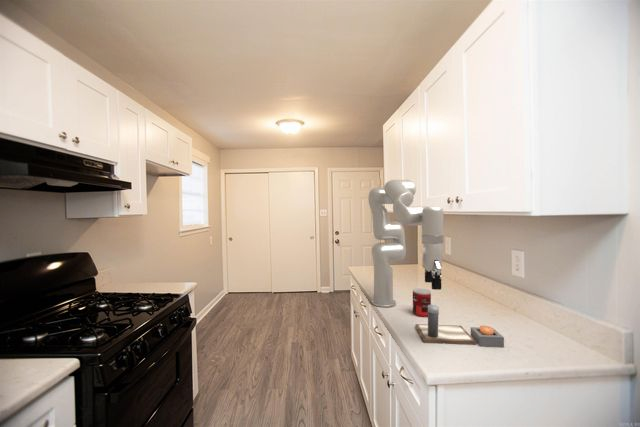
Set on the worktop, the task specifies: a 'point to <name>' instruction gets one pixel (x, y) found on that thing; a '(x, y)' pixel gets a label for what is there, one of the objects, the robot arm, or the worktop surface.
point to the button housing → (487, 338)
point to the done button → (486, 330)
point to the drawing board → (446, 335)
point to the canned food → (421, 302)
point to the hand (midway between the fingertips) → (432, 285)
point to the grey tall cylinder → (433, 321)
